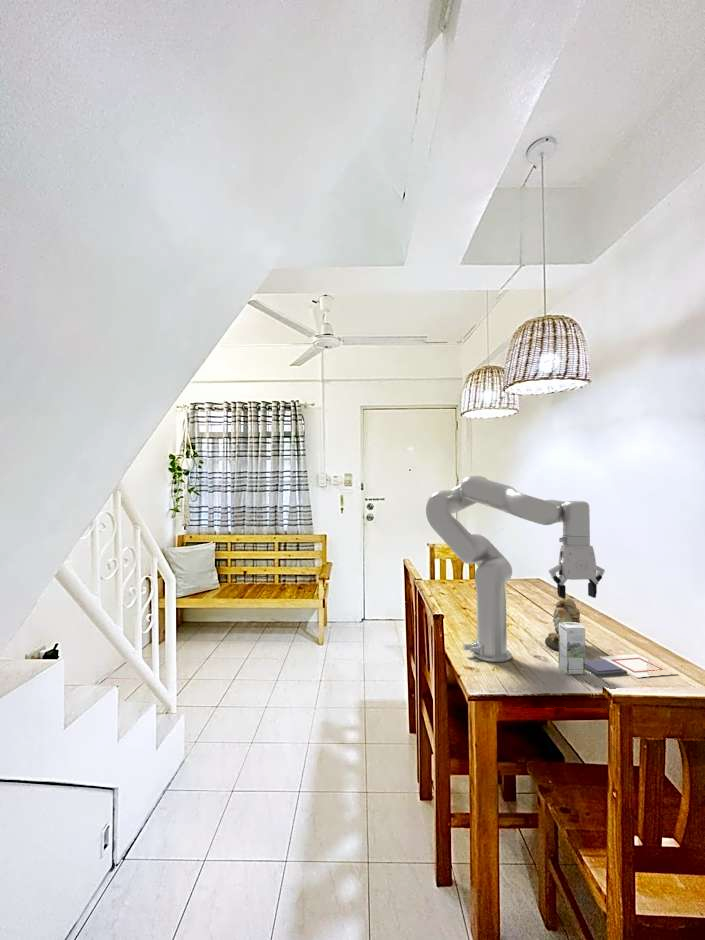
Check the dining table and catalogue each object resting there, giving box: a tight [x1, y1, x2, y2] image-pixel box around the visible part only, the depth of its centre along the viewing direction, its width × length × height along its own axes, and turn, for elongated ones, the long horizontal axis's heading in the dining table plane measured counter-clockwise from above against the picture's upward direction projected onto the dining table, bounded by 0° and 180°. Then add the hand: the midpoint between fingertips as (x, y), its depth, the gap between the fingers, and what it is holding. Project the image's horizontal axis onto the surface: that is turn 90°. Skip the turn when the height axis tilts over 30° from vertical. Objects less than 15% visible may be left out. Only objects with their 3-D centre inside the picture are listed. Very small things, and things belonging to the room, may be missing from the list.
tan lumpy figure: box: [544, 596, 581, 653], centre depth 176 cm, size 18×12×17 cm, turn 158°
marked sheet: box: [598, 653, 663, 679], centre depth 156 cm, size 14×17×1 cm
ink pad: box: [585, 658, 628, 677], centre depth 153 cm, size 10×10×1 cm
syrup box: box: [558, 622, 586, 676], centre depth 151 cm, size 6×6×14 cm
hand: (577, 597), depth 152 cm, fingers open, 9 cm apart
